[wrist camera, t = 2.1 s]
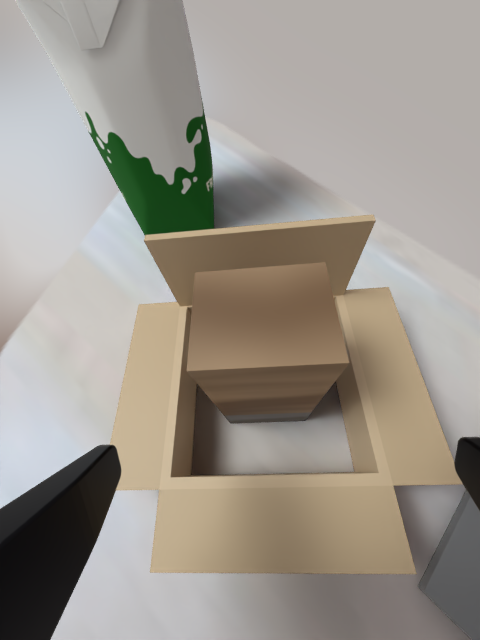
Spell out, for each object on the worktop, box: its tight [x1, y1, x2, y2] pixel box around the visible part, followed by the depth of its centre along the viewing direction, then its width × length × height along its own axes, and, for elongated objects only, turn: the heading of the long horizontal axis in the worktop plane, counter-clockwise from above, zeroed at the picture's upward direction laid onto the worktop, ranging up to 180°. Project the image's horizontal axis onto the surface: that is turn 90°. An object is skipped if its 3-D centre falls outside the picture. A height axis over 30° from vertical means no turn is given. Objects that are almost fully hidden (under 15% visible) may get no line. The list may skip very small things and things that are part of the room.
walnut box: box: [187, 262, 349, 423], centre depth 14 cm, size 4×5×11 cm
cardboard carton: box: [110, 215, 462, 574], centre depth 13 cm, size 14×17×10 cm
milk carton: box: [15, 0, 214, 235], centre depth 20 cm, size 9×9×20 cm
